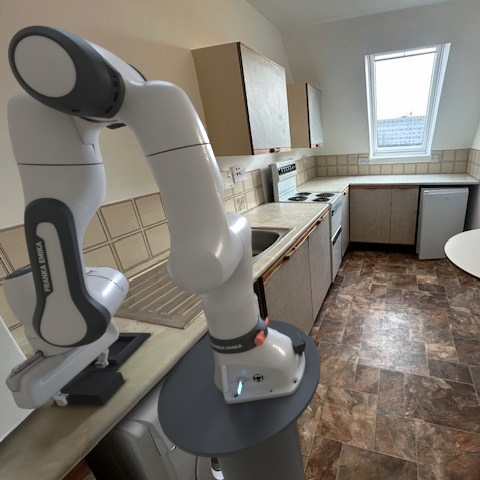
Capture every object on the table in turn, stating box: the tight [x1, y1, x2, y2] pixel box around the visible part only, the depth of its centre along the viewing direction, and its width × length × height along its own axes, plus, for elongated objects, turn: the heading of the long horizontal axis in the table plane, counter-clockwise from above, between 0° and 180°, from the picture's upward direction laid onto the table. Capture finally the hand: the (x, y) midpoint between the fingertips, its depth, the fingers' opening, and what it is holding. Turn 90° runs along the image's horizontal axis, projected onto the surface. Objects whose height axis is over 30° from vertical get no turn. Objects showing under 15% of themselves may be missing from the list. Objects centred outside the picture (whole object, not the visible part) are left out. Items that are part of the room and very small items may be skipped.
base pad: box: [82, 332, 152, 372], centre depth 72 cm, size 16×14×2 cm
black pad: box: [52, 371, 125, 406], centre depth 60 cm, size 12×6×3 cm, turn 85°
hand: (85, 383), depth 60 cm, fingers open, 8 cm apart
